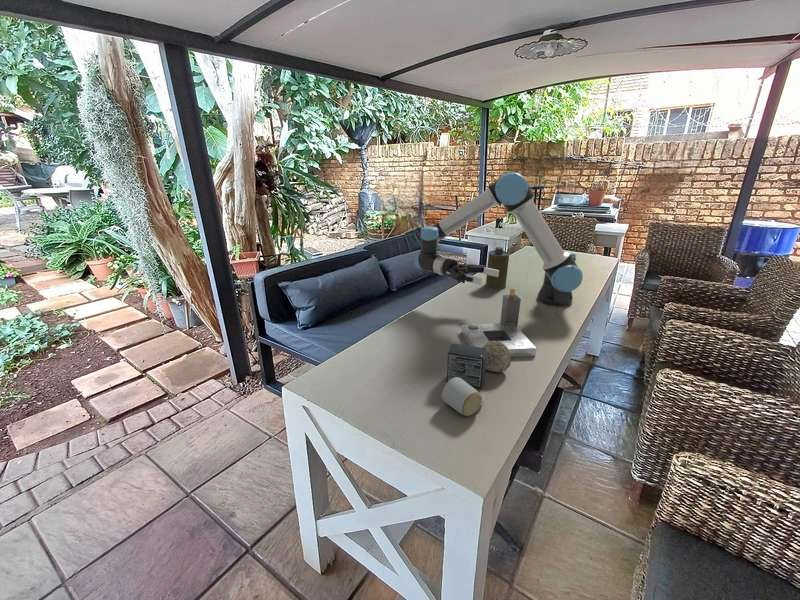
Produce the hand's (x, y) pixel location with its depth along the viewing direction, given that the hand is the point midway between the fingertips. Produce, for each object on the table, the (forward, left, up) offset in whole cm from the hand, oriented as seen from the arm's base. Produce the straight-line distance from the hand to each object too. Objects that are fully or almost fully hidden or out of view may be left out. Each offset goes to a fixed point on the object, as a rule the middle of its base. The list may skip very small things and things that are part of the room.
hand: (490, 277), depth 145 cm
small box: (+20, +43, -18) cm, 51 cm away
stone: (+10, +38, -18) cm, 44 cm away
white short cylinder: (+24, +55, -18) cm, 63 cm away
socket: (+3, +21, -18) cm, 28 cm away
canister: (-18, -40, -18) cm, 47 cm away
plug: (-7, +7, -18) cm, 20 cm away
